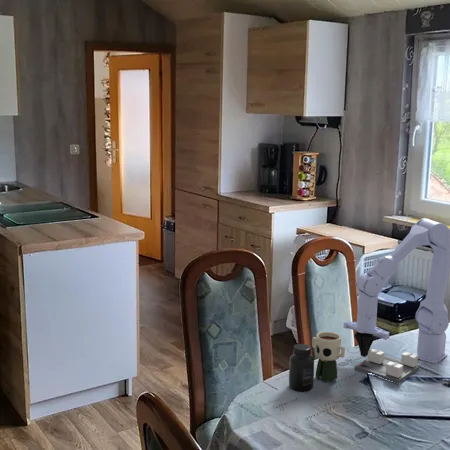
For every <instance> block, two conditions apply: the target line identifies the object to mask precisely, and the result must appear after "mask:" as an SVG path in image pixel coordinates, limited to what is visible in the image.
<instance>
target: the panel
mask: <svg viewBox="0 0 450 450" xmlns="http://www.w3.org/2000/svg"><path fill="white" fill-rule="evenodd" d="M390 361H391V362H394V363H395V362H396V363H398V364H401V359H399V358H396V357H392V356H389V355H386V354H384V362H382V363H381V364H378V363H374V362H371V361H368V358H367V359H365V360H363V361H361V362H360V363H358V364H356V365H355V366H354V370H355V371H357V372H359V373H363V374H366V375H368V374H367V373H372V374H375V375H377V376H380V377H382V378H384V379H387V380H390V381H393V382H395V383H394V384H396V383H398V384H397V385H400V384H401V383H402V381H403V380H404V379H405V380H407V379H408V378H410V377H412V375H414V374H415V373H417V372H418V371H420V367H421V365H418V364H417V365H416V366H415V367H411V366H408V365H404V364H401V365H403V374H402V376H400V377H399V378H397V377H394V376H391V375H388V374H385V373H386V364H387V363H388V362H390ZM409 376H410V377H409ZM407 377H408V378H407ZM406 378H407V379H406ZM384 379H383V380H384ZM387 380H386V381H387ZM405 380H404V381H405ZM390 381H389V382H390ZM404 381H403V382H404ZM393 382H392V383H393ZM400 382H401V383H400ZM399 383H400V384H399Z"/></svg>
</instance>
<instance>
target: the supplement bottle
mask: <svg viewBox="0 0 450 450" xmlns="http://www.w3.org/2000/svg"><path fill="white" fill-rule="evenodd" d="M292 353H293V354H291V356H289V361H288V362H289V367H288V387H289V388H290V390H292V391H294V392H296V393H307V392H308V393H309V392H310V391H312V390H313V389H314V378H315V377H314V375H315V359H314V356H313V355H312V346H310V345H309V344H305V343H304V344H303V343H298V344H294V345H293V351H292Z"/></svg>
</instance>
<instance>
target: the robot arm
mask: <svg viewBox="0 0 450 450" xmlns="http://www.w3.org/2000/svg"><path fill="white" fill-rule="evenodd" d="M419 246H420V247H421V246H430V248H432V250H433V254H432V259H431V265H430V272H429V277H428V283H427V288H426V294H425V298H424V299H422V300H421V301H420V303H419V307H418V309H417V310H416V312H415V320H416V322H417V323H418V334H417V335H418V336H417V348H416V352H414V353H413V354H415V355H418V360H422V361H425V362H428V363H432V364H438V363H439V362H440V361H441V360H443V359H445V357H446V358H447V356H448V353H447V352H446V342H447V341H446V340H447V334H446V330H447V329H448V328H449V324H450V323H449V318H448V317H449V315H448V314H449V311H448V309H447V307H446V304H445V298H446V292H447V286H448V281H449V275H450V228H449V227H448V226H447V224H446V223H442V222H438V221H436V220H431V218H427V217H423V218H420V219H418V221H416V222H415V224H413V225H412V226H411V229H410V231H409V233H408V234H407V235H406V236H405V237H404V238H403V239H402V241H401V242H400V243H399V244H398V245H397V247H396V248H395V249H394V250H393V251H392V252H391V253H390V255H383V256H382V257H380V256H379V258H378V259H377V262H376V263H375V264H374V265H373V266H372V267H371V268H370V269H368V270H367V271H366V273H362V274H361V275H359V277H358V278H357V280H356V281H355V286H356V288H357V290H358V298H357V299H358V300H357V316H356V321H350V320H345V321H344V322H343V329H349V330H353V331H356V333H354V338H355V340H356V342H357V345H358V347H359V353H360V356H361V357H364V358H366V357H368V351H369V350H371V346H372V344H374V343H373V342H374V341H375V339H376V338H380V339H382V340H385V341H387V340H389V339H390V331H386V330H384V329H382V328H380V327H378V326H377V318H378V317H377V315H378V314H377V313H378V300H379V294H381V292H382V291H383V289H384V285H385V283H386V282H387V281H388V280H389V279H390V278H391V277H392V276H393V275H394V274H395V273H396V272H397V271H398V269H399V263H400V262H401V261H403V260H404V259H405V258H406V257H407V256H409V254H410V253H412V252H413V251H414V250H415V249H416V248H418V247H419Z"/></svg>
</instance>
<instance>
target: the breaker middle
mask: <svg viewBox="0 0 450 450" xmlns="http://www.w3.org/2000/svg"><path fill="white" fill-rule="evenodd" d="M384 355H385V351H382V350H380V349H375V348H372V349H371V348H370V349H369V351H368V355H367V359H368V361H371V362H374V363H378V364H381V363H382V362H384Z"/></svg>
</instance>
